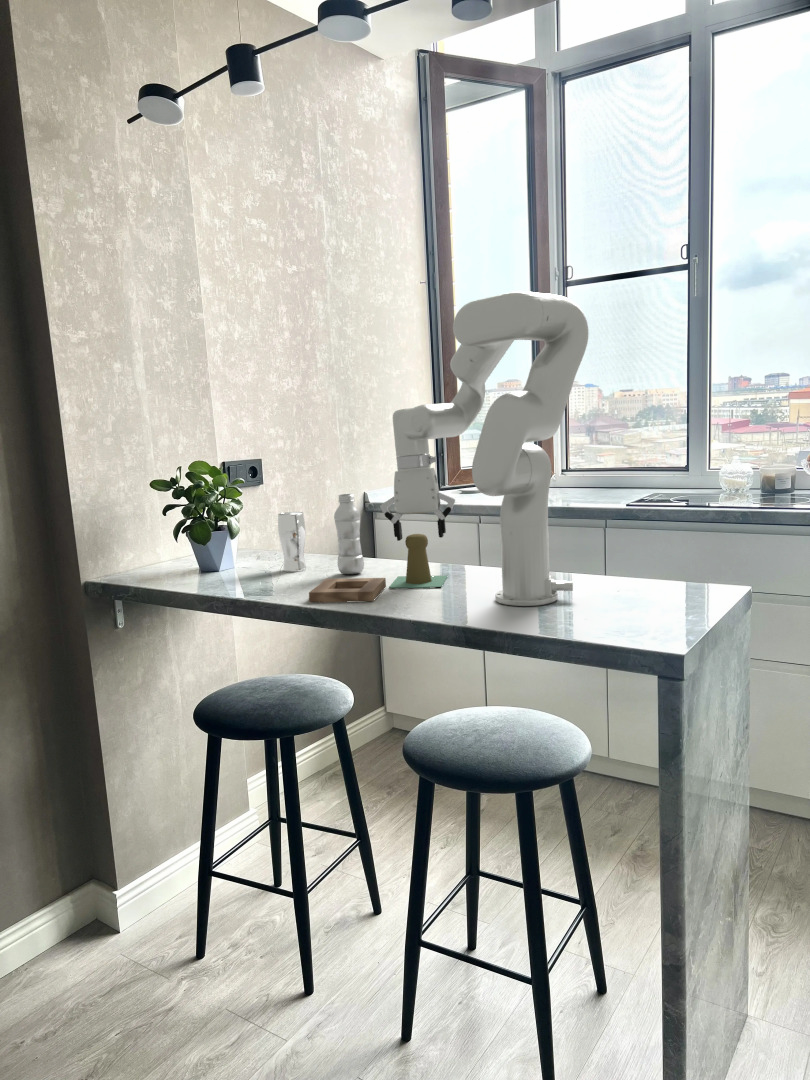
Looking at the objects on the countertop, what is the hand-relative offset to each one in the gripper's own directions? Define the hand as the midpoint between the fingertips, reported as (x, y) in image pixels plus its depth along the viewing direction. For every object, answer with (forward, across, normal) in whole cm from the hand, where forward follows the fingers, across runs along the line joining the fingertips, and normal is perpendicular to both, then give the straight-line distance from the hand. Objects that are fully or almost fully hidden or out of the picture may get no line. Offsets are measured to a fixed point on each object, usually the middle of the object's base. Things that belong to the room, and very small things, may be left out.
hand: (420, 538), depth 180 cm
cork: (+10, +2, -1) cm, 10 cm away
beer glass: (+8, +38, -20) cm, 43 cm away
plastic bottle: (+9, +20, -13) cm, 26 cm away
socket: (+10, +16, +10) cm, 21 cm away
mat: (+10, +2, -1) cm, 11 cm away
